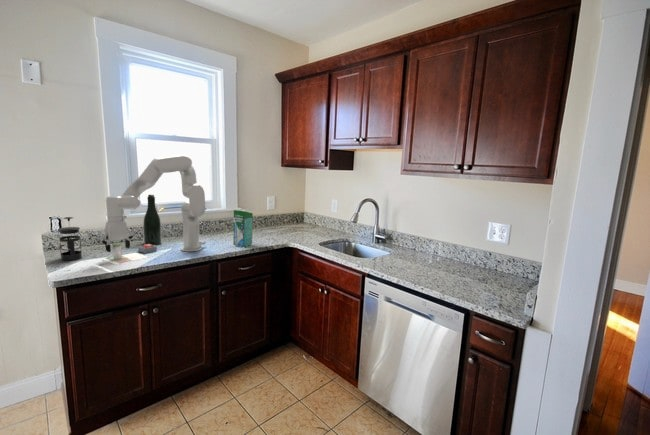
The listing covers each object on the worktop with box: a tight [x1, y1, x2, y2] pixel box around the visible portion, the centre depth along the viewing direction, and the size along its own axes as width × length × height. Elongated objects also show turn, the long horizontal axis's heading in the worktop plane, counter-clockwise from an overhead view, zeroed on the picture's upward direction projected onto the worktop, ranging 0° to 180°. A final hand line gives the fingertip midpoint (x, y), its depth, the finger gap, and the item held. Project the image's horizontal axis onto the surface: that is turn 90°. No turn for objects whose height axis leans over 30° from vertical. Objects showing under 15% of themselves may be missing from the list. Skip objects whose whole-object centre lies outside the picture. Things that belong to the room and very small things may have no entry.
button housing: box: [137, 245, 158, 254], centre depth 191 cm, size 7×7×4 cm
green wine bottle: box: [142, 194, 162, 246], centre depth 210 cm, size 10×10×33 cm
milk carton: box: [232, 209, 254, 248], centre depth 218 cm, size 9×9×25 cm
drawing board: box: [101, 252, 149, 265], centre depth 176 cm, size 20×16×1 cm
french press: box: [58, 216, 83, 262], centre depth 171 cm, size 12×9×23 cm
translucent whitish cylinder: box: [112, 242, 123, 259], centre depth 174 cm, size 4×4×8 cm
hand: (118, 249), depth 174 cm, fingers open, 9 cm apart
